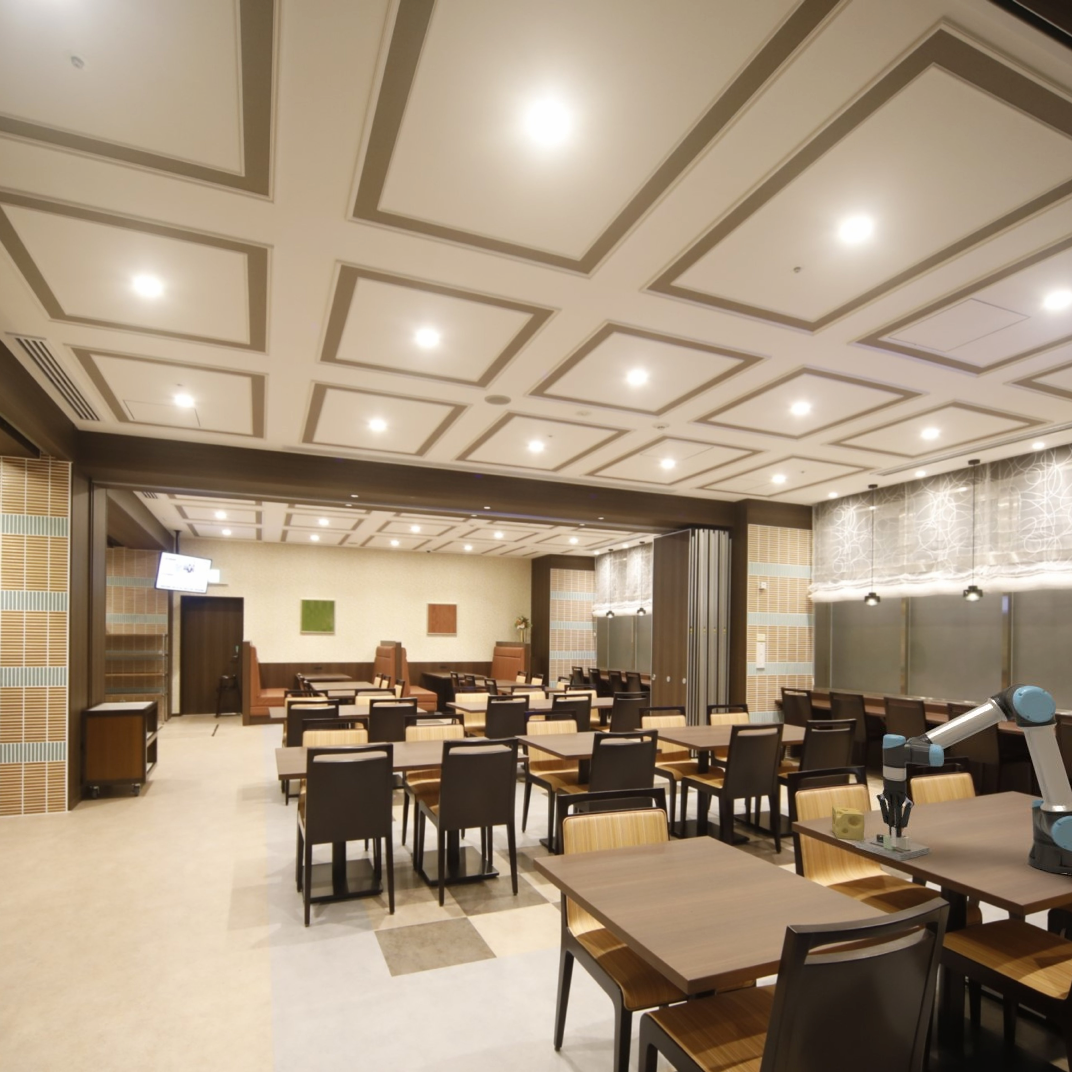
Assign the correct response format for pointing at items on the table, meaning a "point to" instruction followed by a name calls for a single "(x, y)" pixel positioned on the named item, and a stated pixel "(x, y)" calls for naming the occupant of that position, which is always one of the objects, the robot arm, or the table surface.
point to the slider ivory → (905, 843)
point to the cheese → (847, 823)
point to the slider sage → (888, 842)
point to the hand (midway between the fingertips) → (895, 845)
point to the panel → (897, 854)
